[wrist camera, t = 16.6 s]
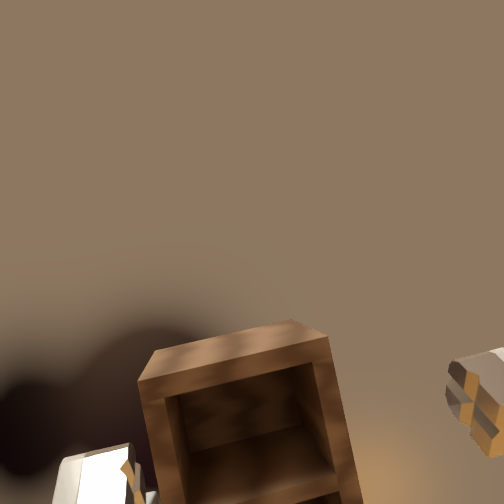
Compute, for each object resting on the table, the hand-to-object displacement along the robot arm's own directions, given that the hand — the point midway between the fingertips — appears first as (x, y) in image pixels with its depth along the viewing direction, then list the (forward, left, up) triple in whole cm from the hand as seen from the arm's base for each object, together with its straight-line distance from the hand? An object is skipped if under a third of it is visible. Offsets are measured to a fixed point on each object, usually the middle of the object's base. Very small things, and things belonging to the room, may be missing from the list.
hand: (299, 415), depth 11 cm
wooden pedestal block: (+10, +36, -30) cm, 48 cm away
